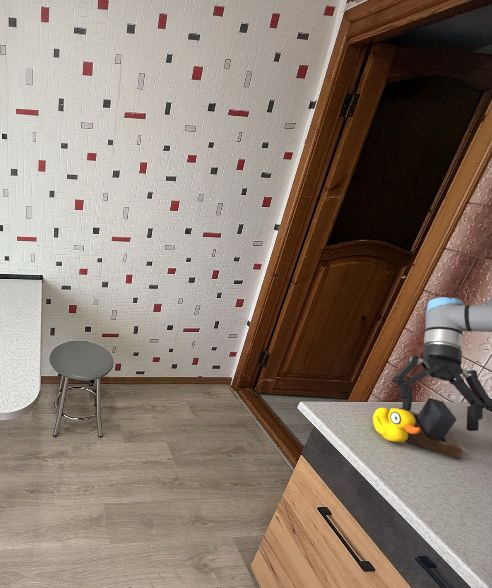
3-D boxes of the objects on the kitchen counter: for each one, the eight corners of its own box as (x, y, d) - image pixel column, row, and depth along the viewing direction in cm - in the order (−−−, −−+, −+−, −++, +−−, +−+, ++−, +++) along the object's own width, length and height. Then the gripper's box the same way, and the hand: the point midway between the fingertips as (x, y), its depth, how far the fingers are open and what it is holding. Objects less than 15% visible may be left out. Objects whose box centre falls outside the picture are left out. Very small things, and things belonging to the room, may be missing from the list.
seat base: (437, 428, 96) (443, 421, 95) (457, 458, 86) (463, 450, 85) (394, 415, 100) (399, 407, 99) (408, 442, 90) (413, 434, 89)
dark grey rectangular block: (425, 428, 96) (443, 401, 92) (436, 447, 89) (456, 419, 85) (412, 424, 97) (429, 397, 93) (422, 442, 91) (441, 415, 87)
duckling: (414, 456, 86) (434, 427, 82) (393, 453, 86) (411, 424, 82) (381, 423, 97) (397, 396, 93) (362, 421, 97) (377, 394, 93)
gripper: (491, 365, 94) (490, 439, 88) (382, 338, 104) (374, 404, 98) (513, 358, 88) (515, 438, 81) (395, 331, 98) (388, 400, 91)
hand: (438, 420), depth 90 cm, fingers open, 13 cm apart
